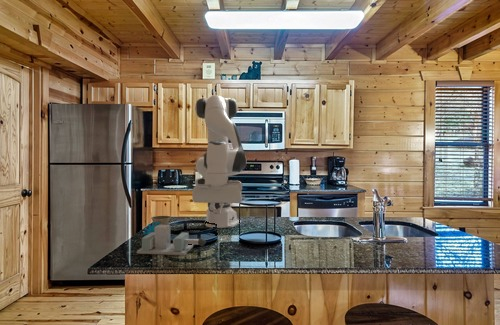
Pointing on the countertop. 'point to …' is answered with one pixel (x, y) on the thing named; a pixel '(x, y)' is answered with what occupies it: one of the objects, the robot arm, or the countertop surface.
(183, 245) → the jaw
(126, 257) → the countertop surface
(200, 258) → the countertop surface
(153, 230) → the gear
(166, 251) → the vise
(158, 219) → the flower pot
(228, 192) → the robot arm
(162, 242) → the block
